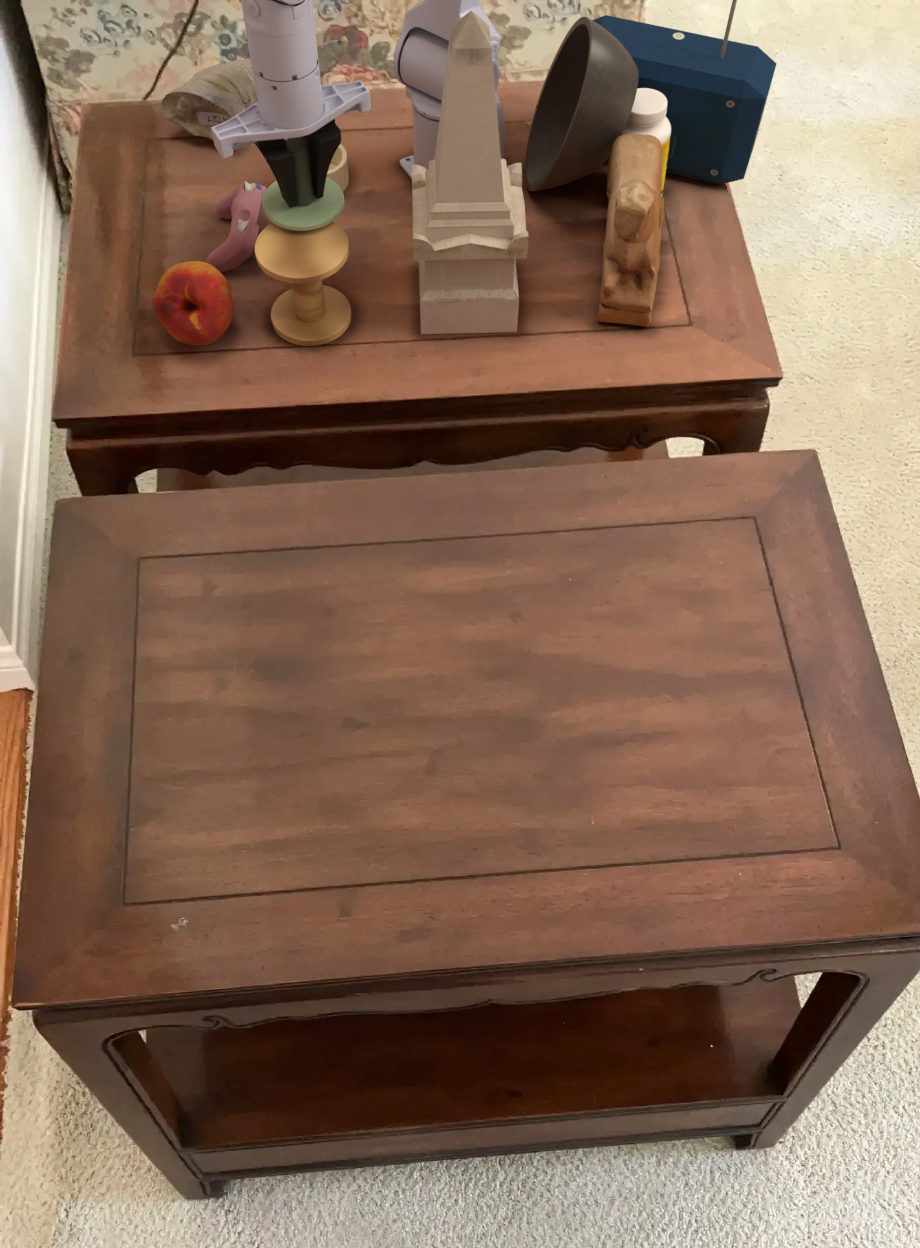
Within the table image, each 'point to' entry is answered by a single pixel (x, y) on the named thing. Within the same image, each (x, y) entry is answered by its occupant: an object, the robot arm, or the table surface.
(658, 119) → the pill bottle
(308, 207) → the cover
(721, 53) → the radio
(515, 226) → the miniature monument
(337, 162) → the dish
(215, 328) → the fruit
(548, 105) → the bowl
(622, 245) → the sculpture
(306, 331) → the stand
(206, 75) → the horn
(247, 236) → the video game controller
